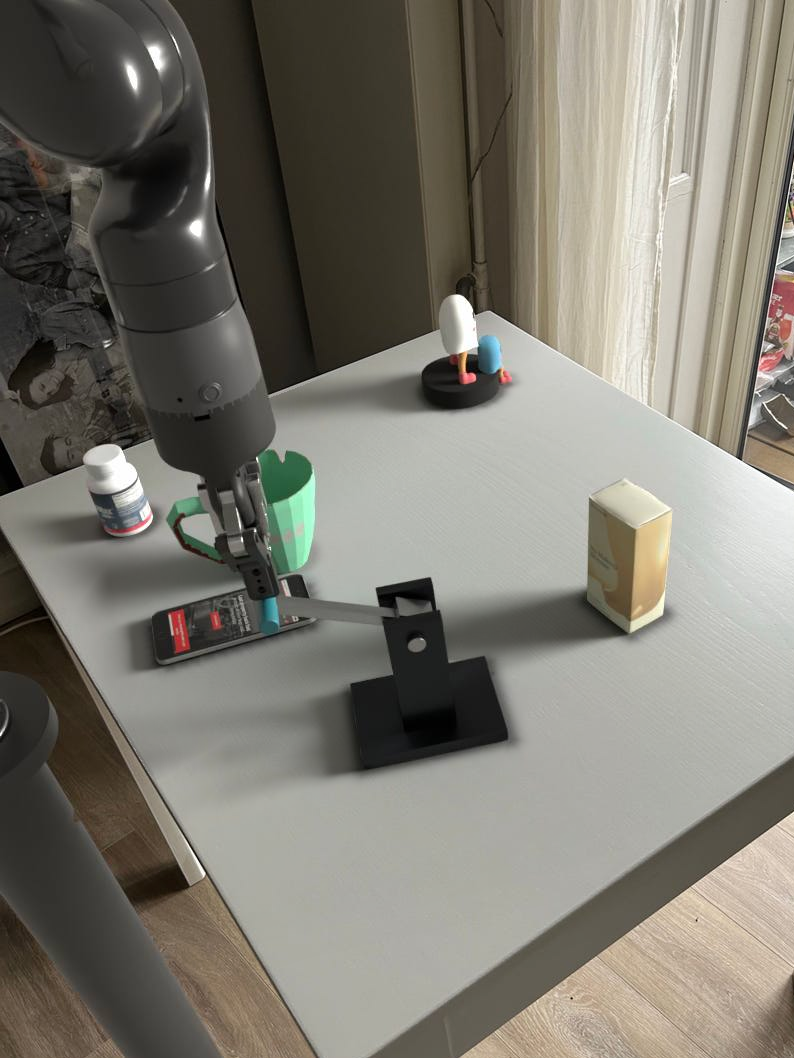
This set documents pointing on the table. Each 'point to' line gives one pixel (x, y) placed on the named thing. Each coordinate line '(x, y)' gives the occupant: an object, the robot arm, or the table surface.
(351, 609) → the lever
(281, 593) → the smartphone
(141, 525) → the pill bottle
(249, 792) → the table surface
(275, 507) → the mug
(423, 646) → the bracket
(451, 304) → the figurine
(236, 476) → the robot arm
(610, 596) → the cosmetic box
